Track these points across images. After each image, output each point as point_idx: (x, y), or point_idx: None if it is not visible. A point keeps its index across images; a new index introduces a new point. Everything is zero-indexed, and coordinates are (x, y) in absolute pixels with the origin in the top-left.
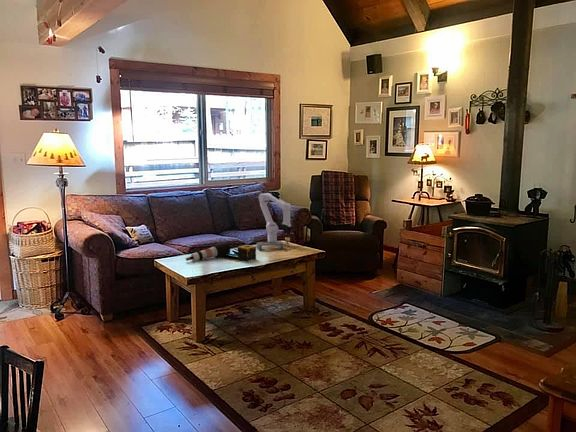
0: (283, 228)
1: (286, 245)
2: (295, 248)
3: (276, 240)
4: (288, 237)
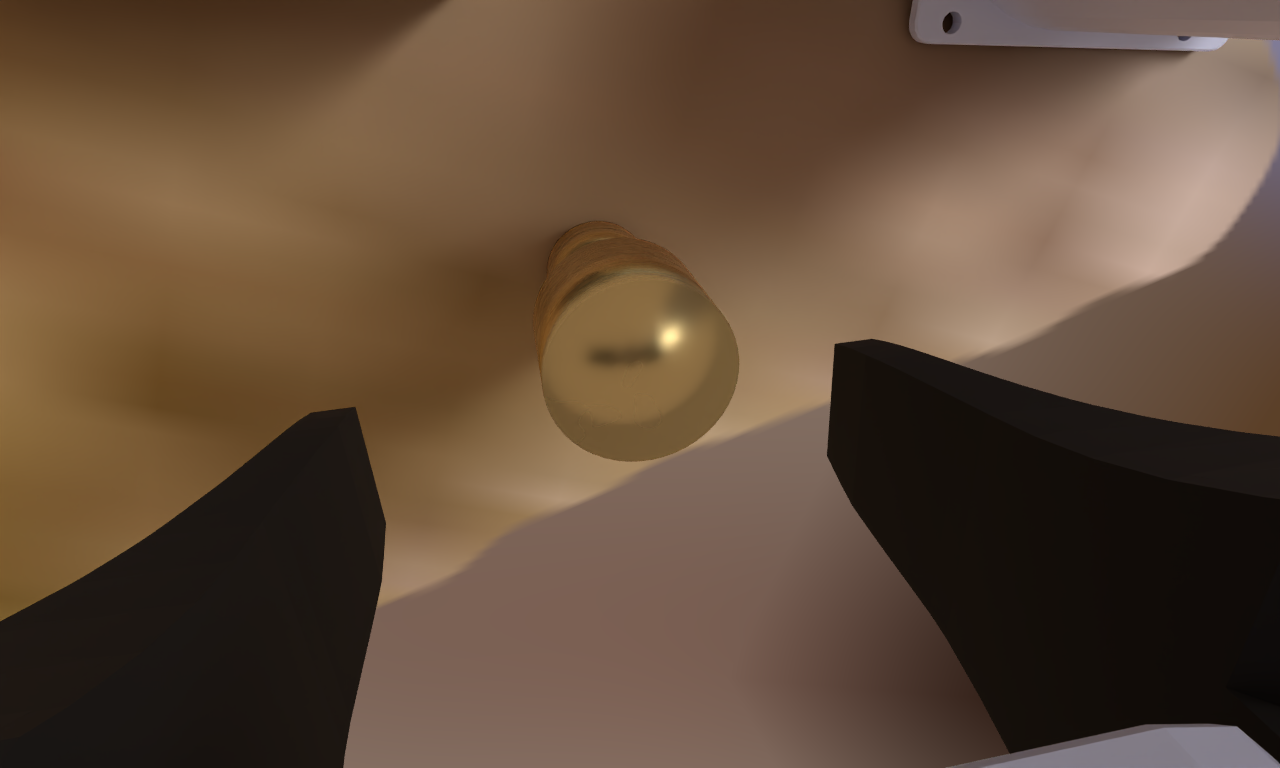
0: (1025, 448)
1: (563, 237)
2: (145, 405)
3: (1058, 9)
4: (673, 424)
